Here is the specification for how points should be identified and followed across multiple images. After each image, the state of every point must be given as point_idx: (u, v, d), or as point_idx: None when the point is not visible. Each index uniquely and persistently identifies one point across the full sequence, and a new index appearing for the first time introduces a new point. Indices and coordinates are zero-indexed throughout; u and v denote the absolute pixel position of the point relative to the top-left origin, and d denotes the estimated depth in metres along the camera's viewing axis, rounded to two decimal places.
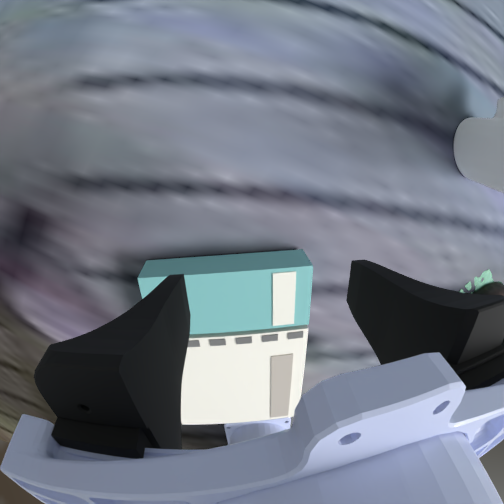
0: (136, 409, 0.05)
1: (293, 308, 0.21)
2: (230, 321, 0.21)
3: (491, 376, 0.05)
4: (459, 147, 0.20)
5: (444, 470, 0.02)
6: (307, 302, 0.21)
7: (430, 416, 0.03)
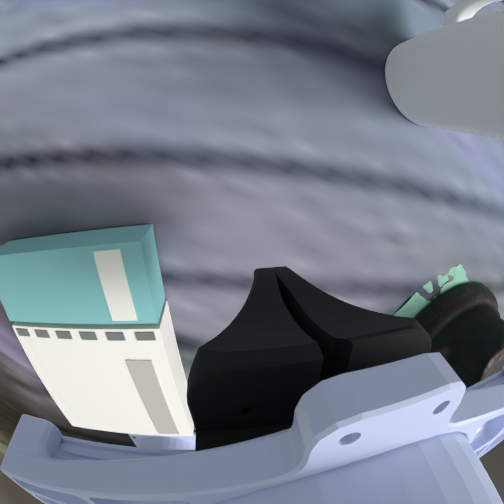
0: None
1: (131, 299, 0.15)
2: (67, 311, 0.15)
3: None
4: (391, 75, 0.14)
5: (444, 470, 0.02)
6: (146, 293, 0.15)
7: (430, 416, 0.03)
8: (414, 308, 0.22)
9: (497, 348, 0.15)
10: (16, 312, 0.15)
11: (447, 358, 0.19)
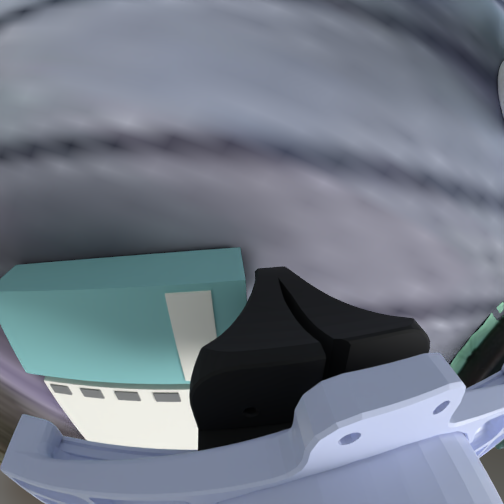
0: None
1: None
2: (115, 368, 0.11)
3: None
4: None
5: (444, 470, 0.02)
6: None
7: (430, 416, 0.03)
8: (486, 329, 0.18)
9: None
10: (36, 364, 0.11)
11: None
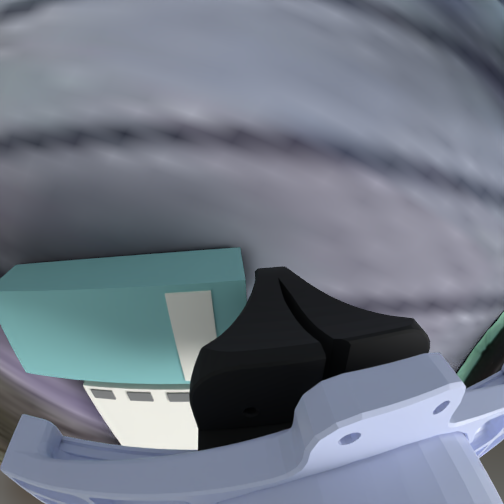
0: None
1: None
2: (115, 368, 0.11)
3: None
4: None
5: (444, 470, 0.02)
6: None
7: (430, 416, 0.03)
8: (500, 324, 0.18)
9: None
10: (35, 364, 0.11)
11: None
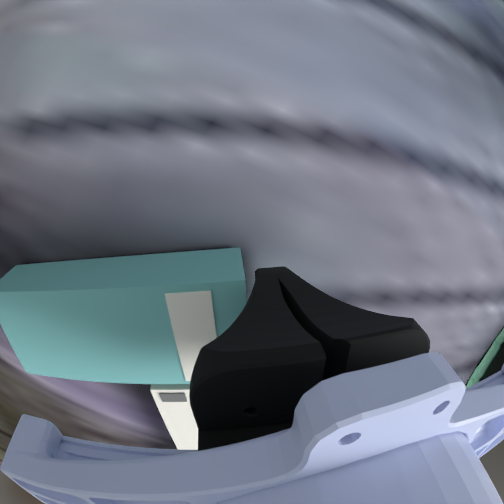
0: None
1: None
2: (115, 369, 0.11)
3: None
4: None
5: (444, 470, 0.02)
6: None
7: (430, 416, 0.03)
8: None
9: None
10: (36, 364, 0.11)
11: None
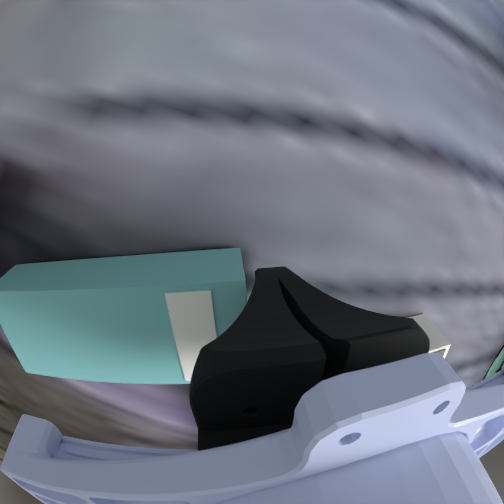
0: None
1: None
2: (115, 368, 0.11)
3: None
4: None
5: (444, 470, 0.02)
6: None
7: (430, 416, 0.03)
8: None
9: None
10: (35, 364, 0.11)
11: None
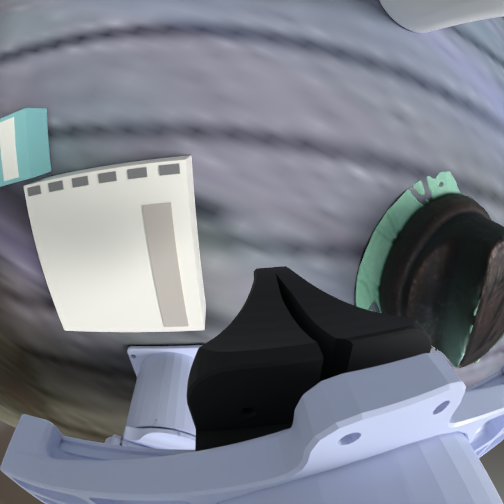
0: None
1: (16, 158, 0.14)
2: None
3: None
4: None
5: (444, 470, 0.02)
6: (25, 150, 0.14)
7: (430, 416, 0.03)
8: (407, 208, 0.22)
9: (498, 238, 0.16)
10: None
11: (448, 257, 0.19)
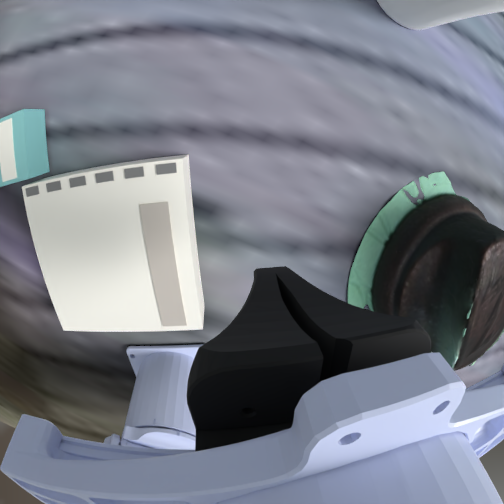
0: None
1: (14, 159, 0.14)
2: None
3: None
4: None
5: (444, 470, 0.02)
6: (23, 150, 0.14)
7: (430, 416, 0.03)
8: (399, 209, 0.22)
9: (492, 240, 0.16)
10: None
11: (441, 259, 0.19)
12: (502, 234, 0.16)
